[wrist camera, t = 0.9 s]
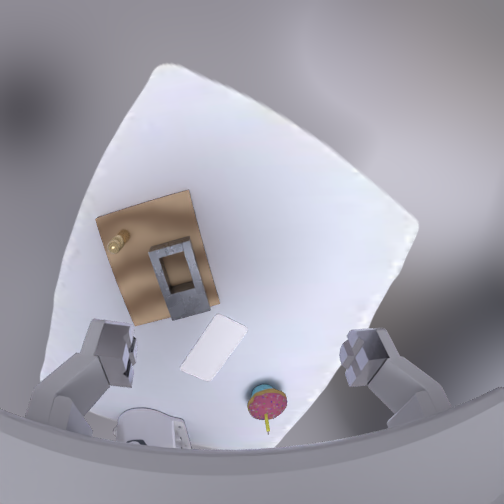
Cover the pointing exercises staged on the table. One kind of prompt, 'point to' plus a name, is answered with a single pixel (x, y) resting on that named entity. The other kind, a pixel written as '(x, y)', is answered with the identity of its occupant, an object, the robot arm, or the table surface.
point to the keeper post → (118, 241)
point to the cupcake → (266, 403)
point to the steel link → (186, 294)
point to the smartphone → (213, 347)
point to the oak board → (137, 258)
